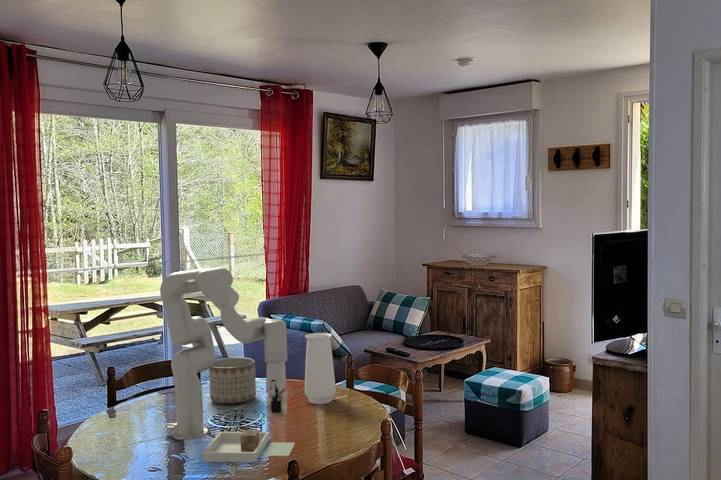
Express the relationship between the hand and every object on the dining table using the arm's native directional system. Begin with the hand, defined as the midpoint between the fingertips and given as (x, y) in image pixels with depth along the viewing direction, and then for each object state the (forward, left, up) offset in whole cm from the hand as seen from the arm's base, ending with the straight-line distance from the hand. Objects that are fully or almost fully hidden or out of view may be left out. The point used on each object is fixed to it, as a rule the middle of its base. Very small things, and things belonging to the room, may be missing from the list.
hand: (278, 409), depth 220 cm
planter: (-32, +58, -15) cm, 68 cm away
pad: (0, 0, -14) cm, 14 cm away
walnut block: (-10, -1, -14) cm, 17 cm away
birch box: (0, 0, -2) cm, 2 cm away
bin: (-14, -1, -14) cm, 20 cm away
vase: (+6, +57, -14) cm, 59 cm away
